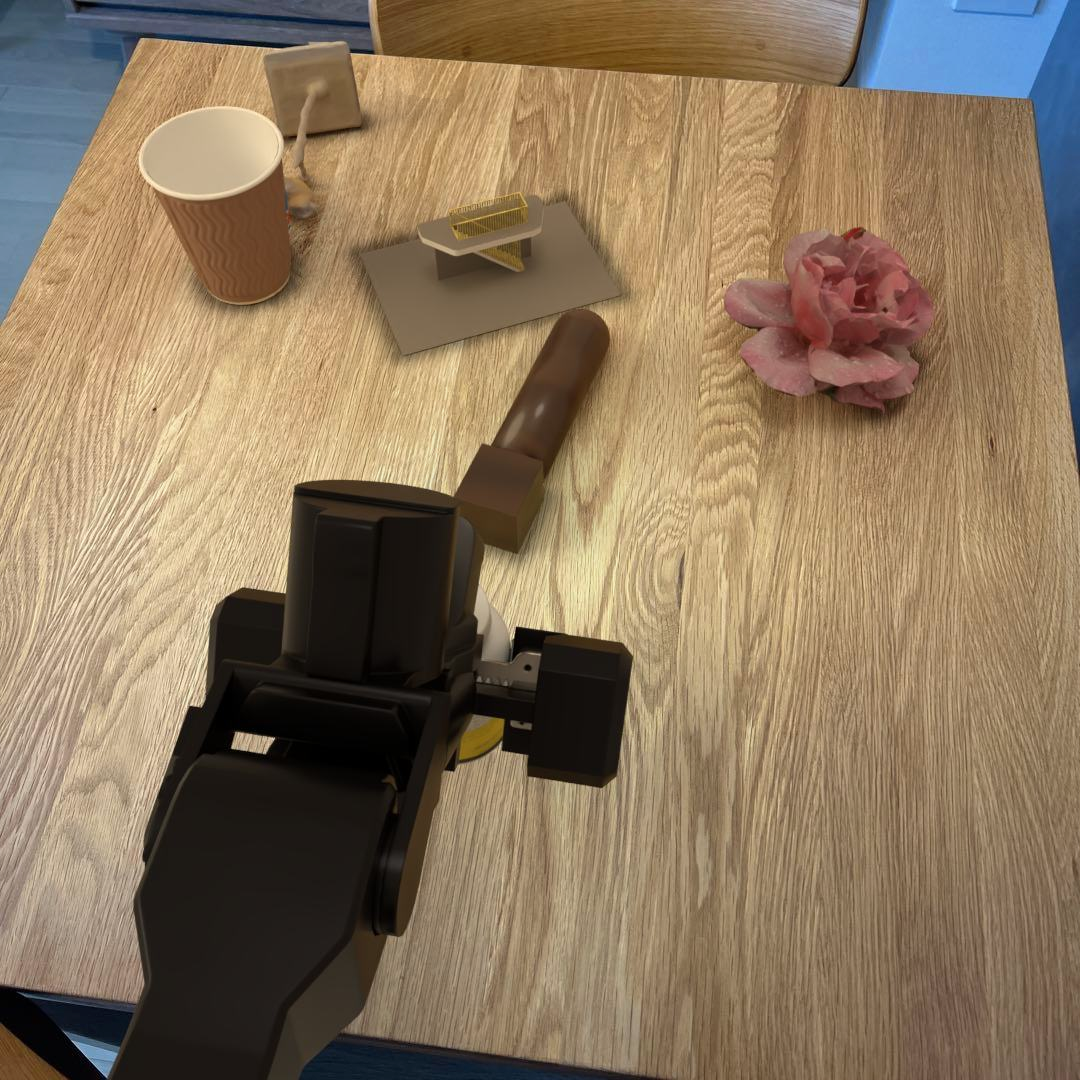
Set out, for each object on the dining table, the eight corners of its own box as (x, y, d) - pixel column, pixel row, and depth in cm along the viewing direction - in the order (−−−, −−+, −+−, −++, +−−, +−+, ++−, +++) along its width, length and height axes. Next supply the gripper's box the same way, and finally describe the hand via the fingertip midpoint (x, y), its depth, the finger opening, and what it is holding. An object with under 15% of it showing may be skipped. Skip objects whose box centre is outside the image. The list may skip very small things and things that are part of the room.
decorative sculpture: (318, 234, 94) (302, 160, 88) (206, 220, 95) (183, 146, 89) (369, 114, 103) (358, 39, 97) (266, 102, 104) (248, 28, 98)
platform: (621, 295, 90) (625, 229, 84) (402, 355, 86) (392, 291, 81) (565, 201, 96) (566, 134, 91) (359, 254, 93) (347, 188, 87)
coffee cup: (338, 263, 92) (313, 136, 82) (252, 340, 87) (214, 216, 77) (243, 215, 95) (208, 88, 85) (155, 287, 91) (107, 162, 81)
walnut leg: (517, 554, 76) (516, 516, 73) (457, 534, 77) (453, 496, 74) (616, 347, 87) (619, 305, 83) (562, 332, 88) (563, 289, 84)
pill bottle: (387, 681, 65) (359, 571, 55) (496, 651, 66) (487, 538, 56) (414, 784, 62) (389, 686, 52) (528, 751, 63) (525, 649, 53)
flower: (753, 434, 78) (813, 316, 71) (693, 306, 88) (741, 191, 81) (935, 447, 83) (1008, 337, 76) (859, 323, 92) (918, 217, 86)
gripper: (643, 573, 41) (654, 508, 57) (154, 505, 43) (292, 460, 59) (604, 856, 44) (625, 720, 59) (140, 779, 45) (277, 667, 61)
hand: (454, 637), depth 59 cm, fingers closed on pill bottle, 6 cm apart
